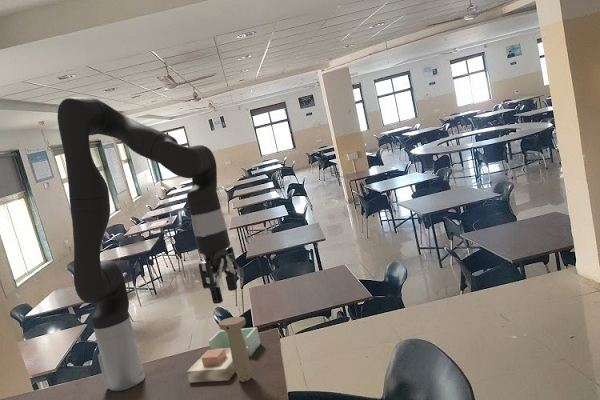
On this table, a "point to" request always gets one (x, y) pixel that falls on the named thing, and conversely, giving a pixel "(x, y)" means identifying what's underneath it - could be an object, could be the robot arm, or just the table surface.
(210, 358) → the tile
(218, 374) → the cream flat slab
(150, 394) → the table surface
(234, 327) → the handle
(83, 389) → the table surface
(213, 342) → the box
